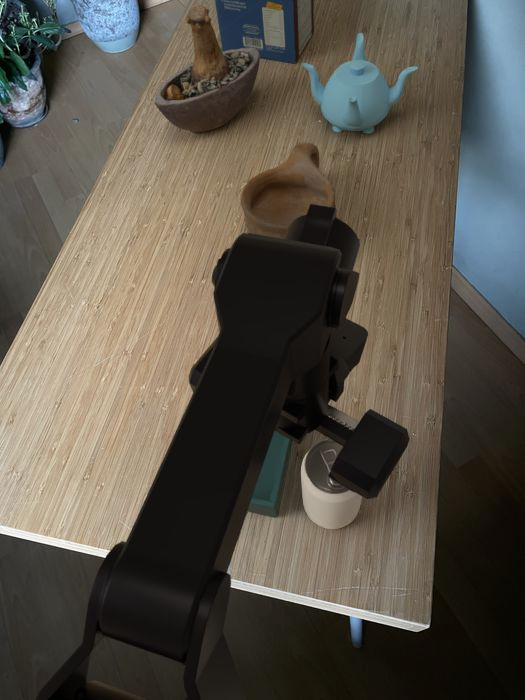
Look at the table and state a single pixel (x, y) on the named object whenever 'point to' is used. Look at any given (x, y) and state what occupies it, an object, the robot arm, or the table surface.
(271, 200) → the bowl
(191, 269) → the table surface
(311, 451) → the can
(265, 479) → the teal shallow tray
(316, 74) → the teapot
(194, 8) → the planter
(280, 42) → the protein box
